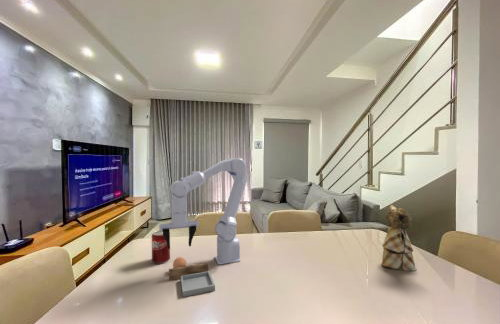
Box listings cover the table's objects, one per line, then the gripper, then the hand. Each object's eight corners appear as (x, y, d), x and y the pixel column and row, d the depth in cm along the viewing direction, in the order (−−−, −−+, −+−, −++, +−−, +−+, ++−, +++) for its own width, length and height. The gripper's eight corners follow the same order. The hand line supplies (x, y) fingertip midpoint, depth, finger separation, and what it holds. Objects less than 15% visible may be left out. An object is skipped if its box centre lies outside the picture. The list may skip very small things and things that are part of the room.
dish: (209, 275, 83) (209, 270, 83) (215, 290, 74) (215, 285, 74) (180, 280, 80) (180, 276, 80) (182, 297, 70) (182, 291, 70)
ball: (185, 266, 90) (185, 254, 90) (187, 272, 86) (186, 259, 86) (172, 268, 89) (172, 256, 89) (173, 274, 84) (173, 261, 84)
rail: (207, 271, 86) (207, 262, 86) (208, 273, 85) (208, 264, 85) (169, 278, 81) (168, 269, 81) (169, 280, 80) (168, 270, 80)
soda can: (163, 265, 92) (163, 235, 92) (148, 263, 93) (147, 234, 93) (173, 257, 99) (173, 230, 99) (158, 256, 100) (158, 229, 100)
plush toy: (428, 263, 90) (411, 201, 94) (424, 277, 80) (405, 207, 84) (388, 260, 100) (374, 204, 103) (381, 273, 90) (365, 210, 93)
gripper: (197, 208, 93) (197, 240, 93) (159, 211, 88) (159, 245, 88) (199, 212, 87) (199, 247, 87) (159, 215, 82) (159, 252, 82)
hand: (179, 246), depth 87 cm, fingers open, 7 cm apart
